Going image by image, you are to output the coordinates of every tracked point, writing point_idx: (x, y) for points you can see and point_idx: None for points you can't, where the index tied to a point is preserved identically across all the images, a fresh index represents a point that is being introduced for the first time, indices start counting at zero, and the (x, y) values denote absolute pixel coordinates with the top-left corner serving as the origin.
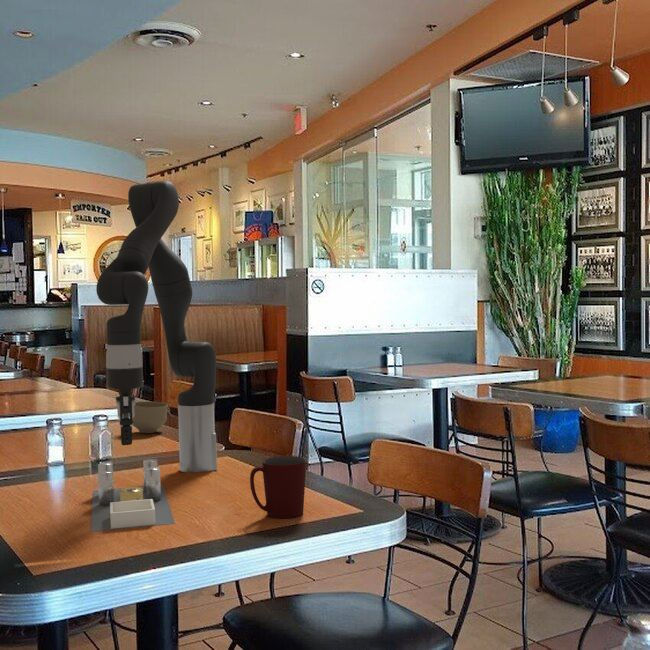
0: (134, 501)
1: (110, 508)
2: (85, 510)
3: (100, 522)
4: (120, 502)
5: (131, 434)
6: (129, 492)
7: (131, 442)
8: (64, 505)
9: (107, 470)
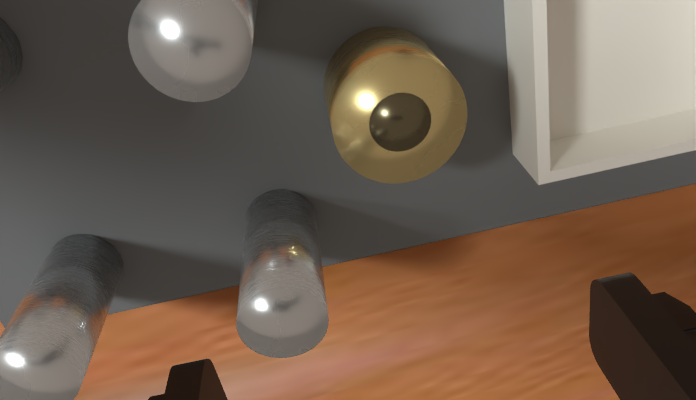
0: (547, 66)
1: (655, 157)
2: (332, 280)
3: (585, 175)
4: (548, 135)
5: (688, 341)
6: (460, 120)
7: (639, 283)
8: (241, 371)
9: (78, 338)
